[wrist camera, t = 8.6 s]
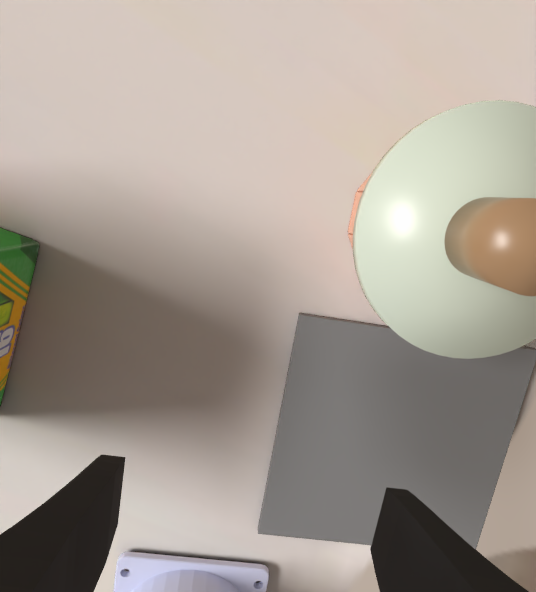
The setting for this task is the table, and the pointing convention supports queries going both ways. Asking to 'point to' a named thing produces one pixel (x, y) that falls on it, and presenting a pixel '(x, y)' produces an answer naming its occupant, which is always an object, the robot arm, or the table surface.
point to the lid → (454, 232)
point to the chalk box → (13, 292)
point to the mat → (387, 431)
